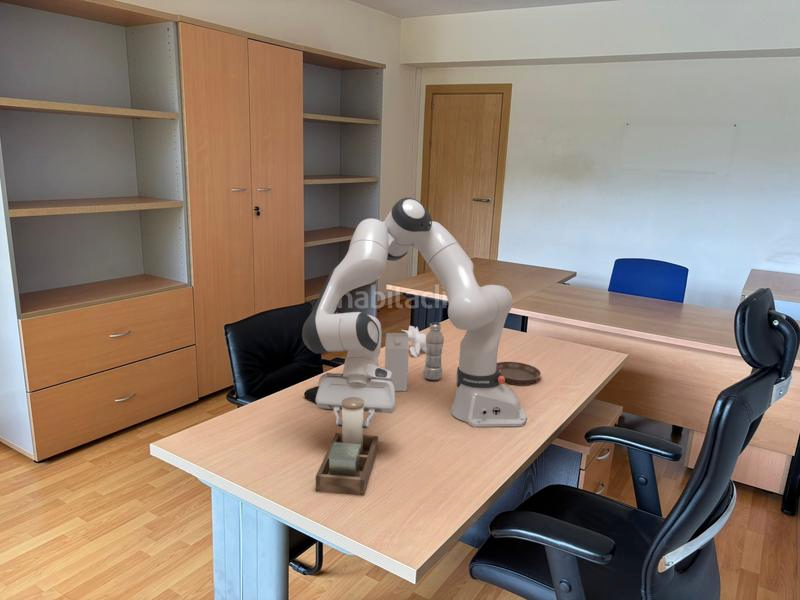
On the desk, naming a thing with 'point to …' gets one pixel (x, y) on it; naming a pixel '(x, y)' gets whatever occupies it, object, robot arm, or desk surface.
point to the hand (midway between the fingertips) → (352, 426)
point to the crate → (345, 482)
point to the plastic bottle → (434, 352)
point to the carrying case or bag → (311, 393)
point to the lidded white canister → (352, 421)
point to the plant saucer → (518, 372)
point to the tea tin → (344, 459)
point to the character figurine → (416, 340)
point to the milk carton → (397, 358)
